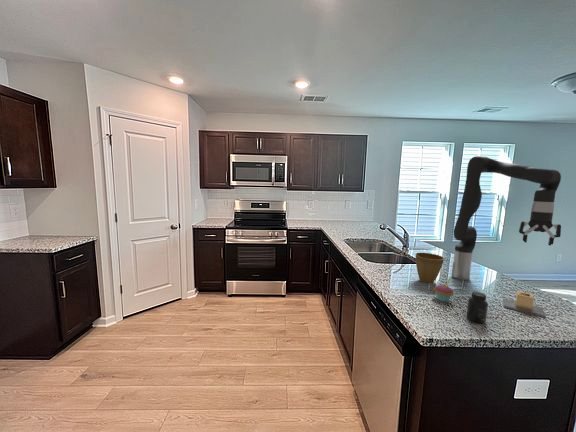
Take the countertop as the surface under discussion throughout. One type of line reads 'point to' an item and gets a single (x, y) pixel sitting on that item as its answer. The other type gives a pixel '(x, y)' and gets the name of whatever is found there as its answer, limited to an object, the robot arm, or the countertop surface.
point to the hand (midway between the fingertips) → (537, 243)
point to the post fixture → (535, 309)
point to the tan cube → (524, 300)
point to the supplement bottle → (477, 308)
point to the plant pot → (428, 266)
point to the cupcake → (444, 292)
